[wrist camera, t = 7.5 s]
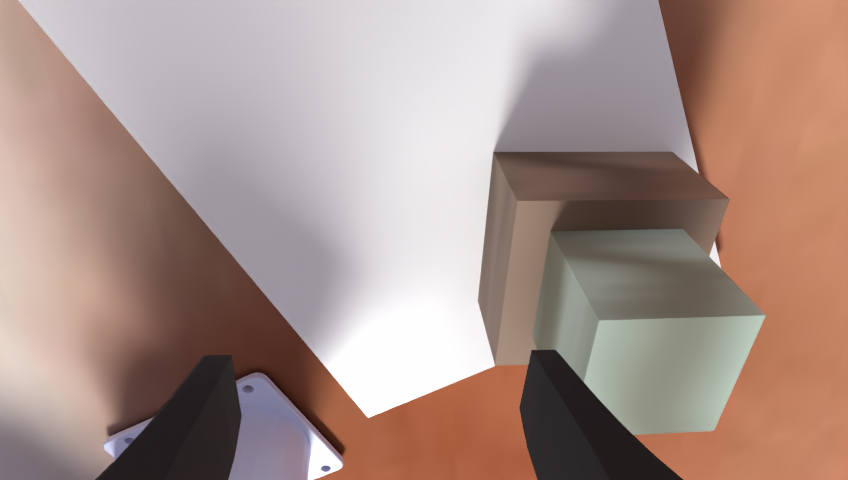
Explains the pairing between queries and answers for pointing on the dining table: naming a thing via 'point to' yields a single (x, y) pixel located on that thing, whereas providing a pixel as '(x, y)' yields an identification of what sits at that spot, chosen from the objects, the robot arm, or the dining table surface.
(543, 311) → the sage cube
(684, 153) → the build board
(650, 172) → the walnut plinth
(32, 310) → the dining table surface
